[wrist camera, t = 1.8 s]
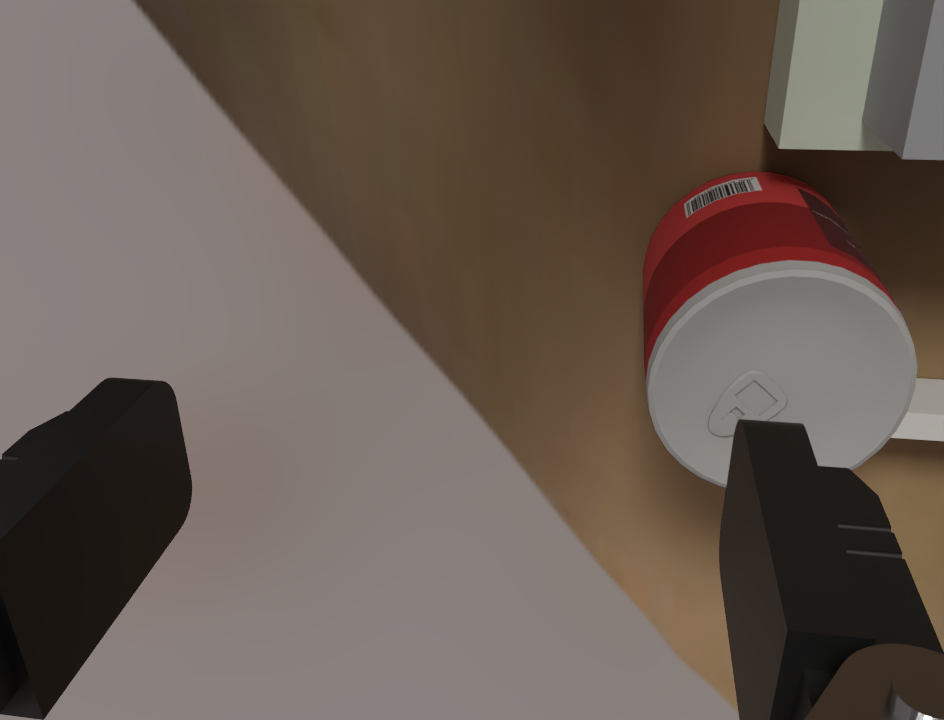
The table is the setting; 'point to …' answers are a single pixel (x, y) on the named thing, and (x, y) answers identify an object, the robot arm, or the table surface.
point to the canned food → (769, 326)
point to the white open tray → (864, 103)
